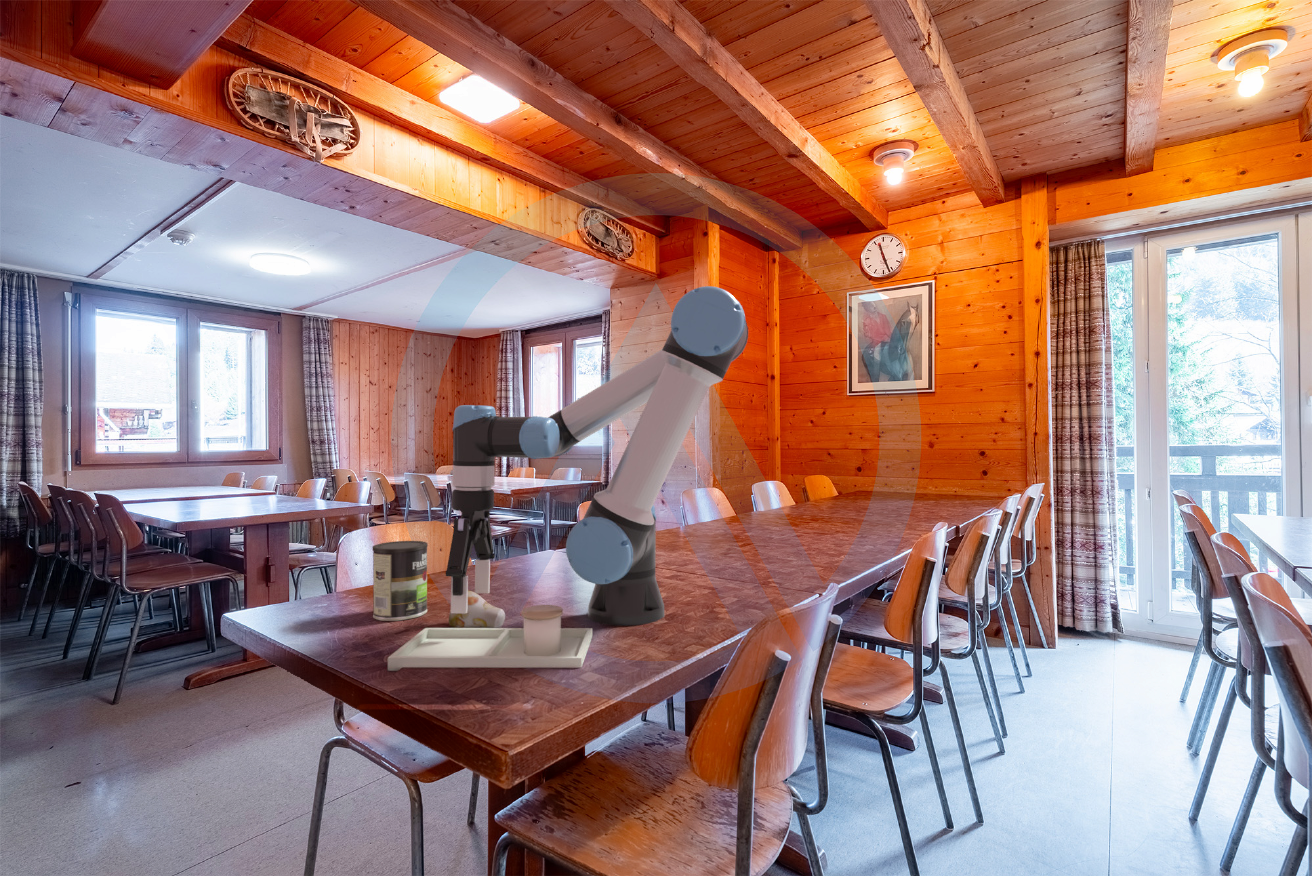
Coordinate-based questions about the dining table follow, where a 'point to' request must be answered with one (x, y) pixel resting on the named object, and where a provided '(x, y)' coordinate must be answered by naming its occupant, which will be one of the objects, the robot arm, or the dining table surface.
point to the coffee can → (399, 580)
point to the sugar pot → (542, 630)
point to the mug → (477, 614)
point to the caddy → (487, 649)
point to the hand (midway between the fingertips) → (471, 602)
